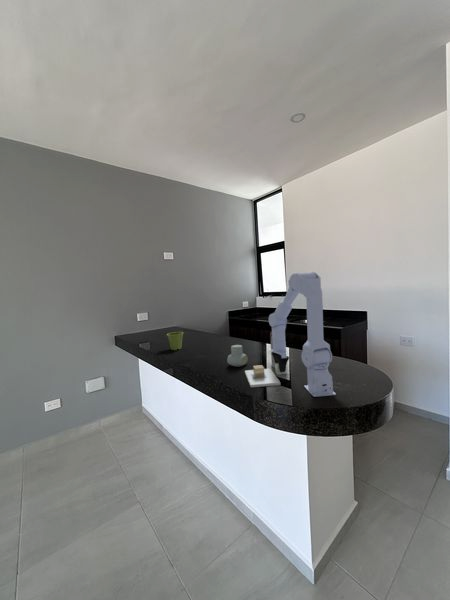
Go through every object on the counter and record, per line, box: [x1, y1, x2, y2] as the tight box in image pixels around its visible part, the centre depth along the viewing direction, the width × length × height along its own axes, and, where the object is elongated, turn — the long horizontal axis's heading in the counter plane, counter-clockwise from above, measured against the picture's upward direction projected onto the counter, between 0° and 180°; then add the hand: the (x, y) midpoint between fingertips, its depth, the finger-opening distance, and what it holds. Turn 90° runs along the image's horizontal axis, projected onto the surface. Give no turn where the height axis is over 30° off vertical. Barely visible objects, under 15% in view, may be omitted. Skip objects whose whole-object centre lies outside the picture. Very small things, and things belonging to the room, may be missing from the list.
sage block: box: [274, 363, 287, 376], centre depth 114 cm, size 4×4×4 cm
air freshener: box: [226, 344, 249, 367], centre depth 130 cm, size 11×8×10 cm
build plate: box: [244, 368, 281, 388], centre depth 108 cm, size 18×12×1 cm, turn 3°
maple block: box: [252, 364, 265, 378], centre depth 108 cm, size 4×4×4 cm
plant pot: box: [166, 331, 184, 351], centre depth 177 cm, size 12×12×11 cm
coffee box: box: [269, 331, 275, 368], centre depth 126 cm, size 9×6×16 cm
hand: (280, 369), depth 114 cm, fingers open, 6 cm apart
